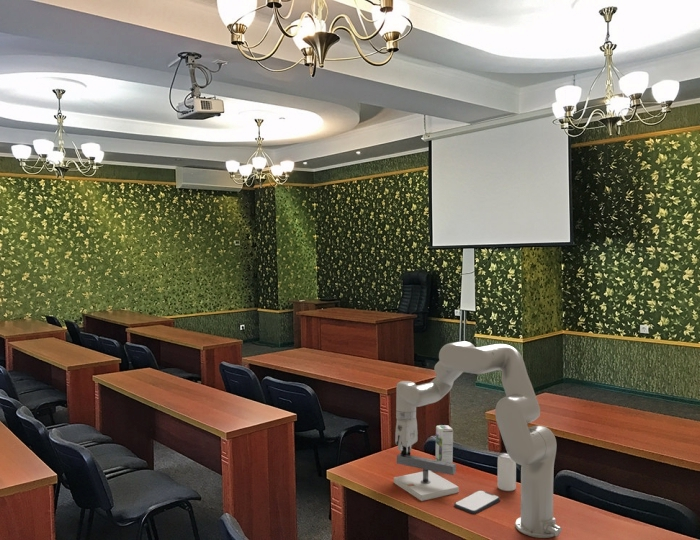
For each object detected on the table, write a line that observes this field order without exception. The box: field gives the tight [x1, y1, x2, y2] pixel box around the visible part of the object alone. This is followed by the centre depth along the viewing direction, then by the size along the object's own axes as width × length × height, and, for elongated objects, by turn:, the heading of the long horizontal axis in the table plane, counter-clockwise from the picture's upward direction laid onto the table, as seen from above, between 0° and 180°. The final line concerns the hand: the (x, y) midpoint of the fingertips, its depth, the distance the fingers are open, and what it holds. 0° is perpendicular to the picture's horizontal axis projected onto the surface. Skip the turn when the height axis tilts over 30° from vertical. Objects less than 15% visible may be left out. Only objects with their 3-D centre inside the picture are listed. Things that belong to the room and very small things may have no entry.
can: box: [497, 452, 517, 492], centre depth 206 cm, size 6×6×12 cm
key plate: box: [393, 470, 460, 502], centre depth 206 cm, size 18×16×2 cm
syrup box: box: [435, 424, 454, 464], centre depth 233 cm, size 6×6×14 cm
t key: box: [396, 452, 457, 483], centre depth 206 cm, size 22×3×8 cm, turn 59°
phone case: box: [454, 489, 501, 515], centre depth 193 cm, size 9×2×16 cm
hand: (405, 462), depth 215 cm, fingers closed
